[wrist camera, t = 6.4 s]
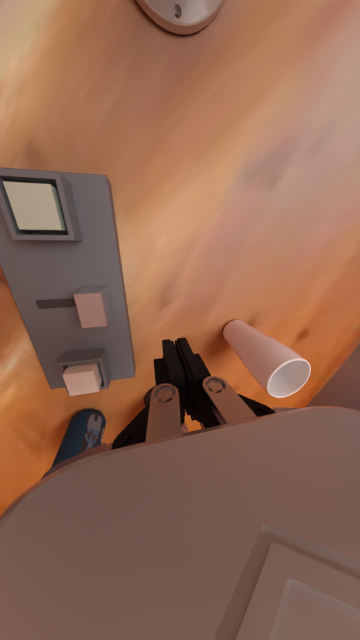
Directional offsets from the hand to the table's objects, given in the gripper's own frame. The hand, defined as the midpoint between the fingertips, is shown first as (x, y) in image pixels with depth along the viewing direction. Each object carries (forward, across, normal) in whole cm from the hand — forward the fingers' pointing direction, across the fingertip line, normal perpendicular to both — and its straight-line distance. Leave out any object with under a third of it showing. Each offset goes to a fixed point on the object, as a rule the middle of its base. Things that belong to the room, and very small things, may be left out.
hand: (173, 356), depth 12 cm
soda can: (+19, +16, +27) cm, 37 cm away
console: (+19, +12, 0) cm, 22 cm away
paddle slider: (+15, +8, 0) cm, 18 cm away
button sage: (+16, +12, -11) cm, 23 cm away
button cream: (+15, +12, +11) cm, 22 cm away
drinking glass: (+19, -16, +9) cm, 26 cm away
